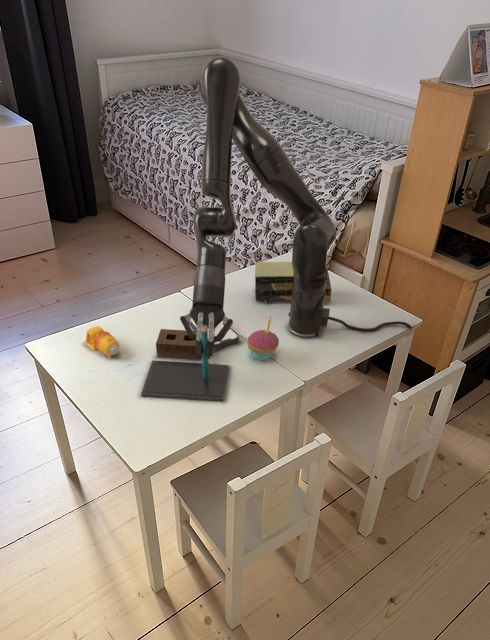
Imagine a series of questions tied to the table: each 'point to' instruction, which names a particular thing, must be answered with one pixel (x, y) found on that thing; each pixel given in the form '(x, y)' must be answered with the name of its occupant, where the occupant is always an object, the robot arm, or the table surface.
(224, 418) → the table surface
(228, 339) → the smartphone
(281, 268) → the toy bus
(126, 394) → the table surface
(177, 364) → the tablet
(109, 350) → the toy figure
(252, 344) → the cupcake
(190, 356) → the pen stand
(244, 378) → the table surface
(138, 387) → the table surface
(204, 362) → the stylus
